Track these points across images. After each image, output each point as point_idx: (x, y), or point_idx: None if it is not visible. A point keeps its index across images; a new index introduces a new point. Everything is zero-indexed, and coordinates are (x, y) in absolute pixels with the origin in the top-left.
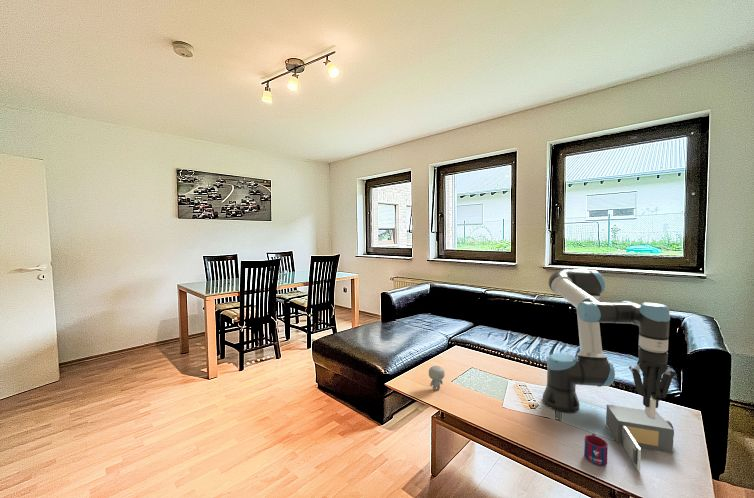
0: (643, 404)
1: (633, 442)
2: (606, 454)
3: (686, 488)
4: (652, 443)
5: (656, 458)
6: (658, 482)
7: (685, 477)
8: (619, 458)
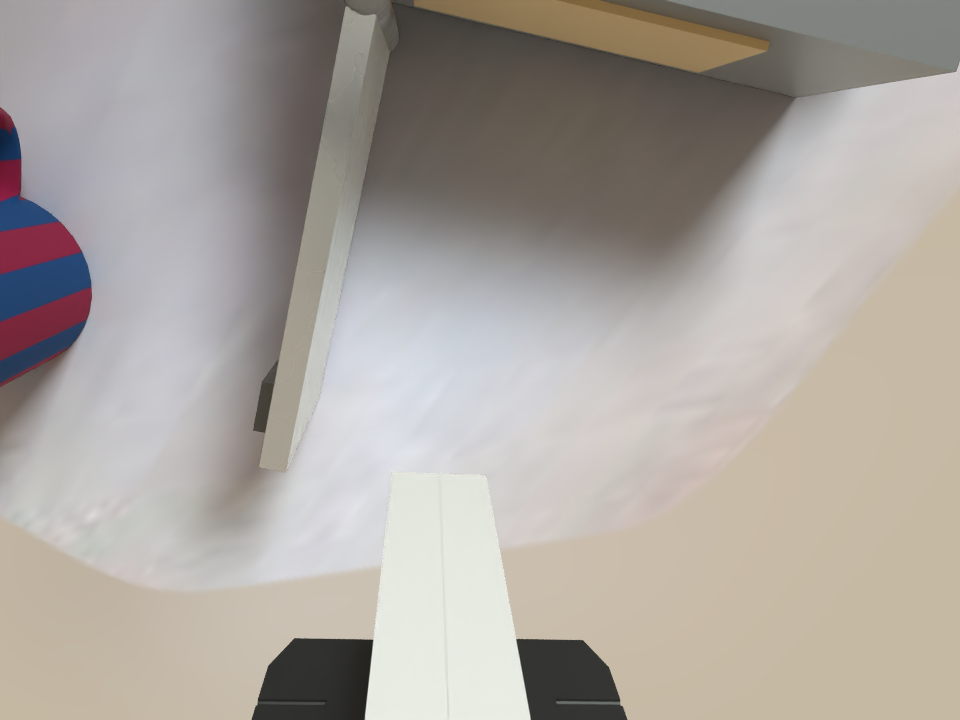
0: (284, 655)
1: (282, 345)
2: (14, 376)
3: (560, 515)
4: (656, 58)
5: (584, 196)
6: None
7: (647, 404)
8: (236, 241)
